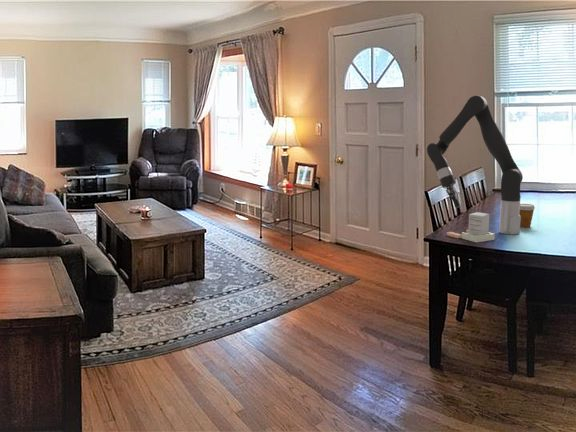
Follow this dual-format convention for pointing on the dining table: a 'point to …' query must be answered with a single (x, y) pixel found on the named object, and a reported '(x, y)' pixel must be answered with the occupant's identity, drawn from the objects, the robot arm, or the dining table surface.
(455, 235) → the trap left
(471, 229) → the supplement box
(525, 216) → the disposable coffee cup
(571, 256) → the dining table surface
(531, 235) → the dining table surface
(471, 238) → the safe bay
